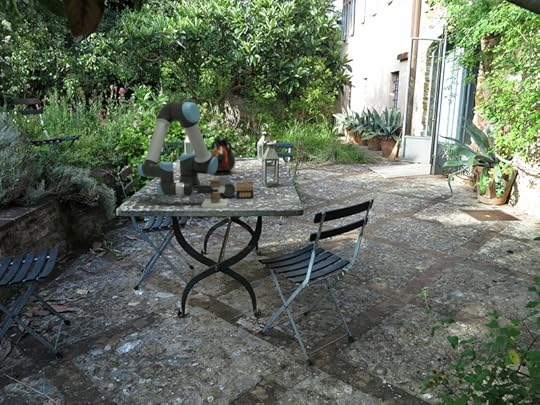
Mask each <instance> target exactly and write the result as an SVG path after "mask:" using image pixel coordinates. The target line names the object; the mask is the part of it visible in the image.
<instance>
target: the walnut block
mask: <svg viewBox="0 0 540 405" xmlns="http://www.w3.org/2000/svg"><path fill="white" fill-rule="evenodd" d="M209 182H210V188H212V189H213V188H220V180H218V179H210V180H209ZM210 199H211V201H220V199H221V193H213V194H210Z"/></svg>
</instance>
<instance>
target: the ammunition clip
mask: <svg viewBox="0 0 540 405" xmlns="http://www.w3.org/2000/svg"><path fill="white" fill-rule="evenodd" d="M235 195H236V196H235V198H236V200H248V199H249V200H254V199H255V198H254V197H255V196H254V181H253V179H251V180H250V179H248V181H247V179H243V180H242V179H237V180H236V186H235Z"/></svg>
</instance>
